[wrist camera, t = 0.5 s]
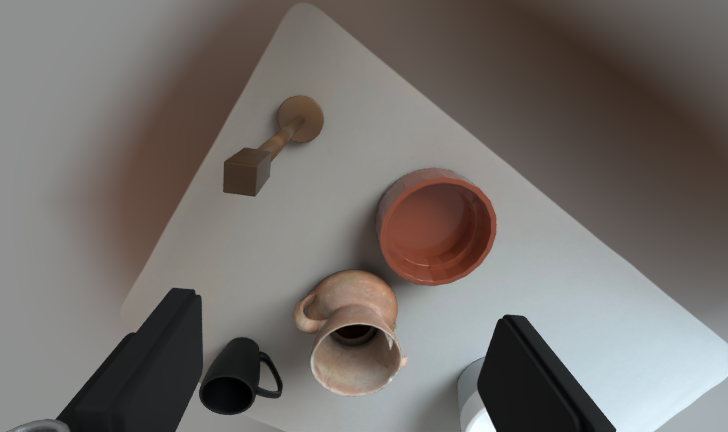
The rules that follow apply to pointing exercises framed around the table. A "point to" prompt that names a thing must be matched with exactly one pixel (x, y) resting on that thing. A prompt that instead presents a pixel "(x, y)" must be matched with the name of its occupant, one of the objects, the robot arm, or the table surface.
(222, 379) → the mug
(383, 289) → the ceramic jug
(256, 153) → the wooden dowel plunger
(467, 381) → the bowl
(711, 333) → the table surface
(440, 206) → the mixing bowl
